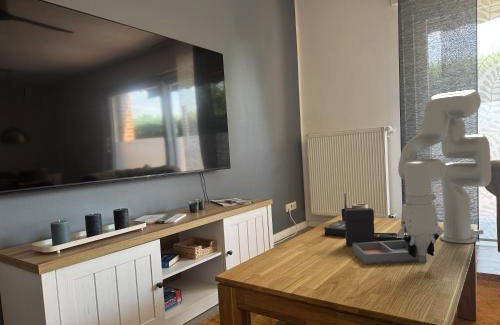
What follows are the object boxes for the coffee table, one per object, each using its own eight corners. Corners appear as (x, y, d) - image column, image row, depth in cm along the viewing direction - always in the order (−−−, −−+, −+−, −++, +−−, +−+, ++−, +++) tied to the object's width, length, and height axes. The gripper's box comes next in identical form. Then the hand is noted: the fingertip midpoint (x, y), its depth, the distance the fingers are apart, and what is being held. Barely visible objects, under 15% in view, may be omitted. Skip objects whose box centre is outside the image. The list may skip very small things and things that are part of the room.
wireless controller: (350, 238, 148) (348, 200, 147) (321, 235, 157) (319, 199, 156) (366, 228, 164) (364, 193, 163) (339, 225, 172) (337, 192, 172)
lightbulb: (430, 259, 110) (428, 226, 110) (434, 266, 105) (432, 231, 104) (410, 258, 112) (408, 226, 112) (412, 265, 107) (410, 231, 106)
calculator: (372, 243, 139) (371, 207, 138) (375, 246, 134) (373, 209, 134) (345, 244, 140) (343, 208, 139) (347, 247, 136) (345, 210, 135)
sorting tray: (407, 248, 129) (406, 239, 129) (426, 261, 115) (426, 251, 115) (352, 252, 129) (352, 243, 129) (365, 264, 115) (365, 254, 115)
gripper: (438, 195, 111) (440, 249, 112) (387, 199, 111) (390, 253, 112) (452, 199, 104) (454, 257, 105) (397, 204, 104) (400, 261, 105)
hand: (421, 254), depth 108 cm, fingers closed on lightbulb, 5 cm apart
